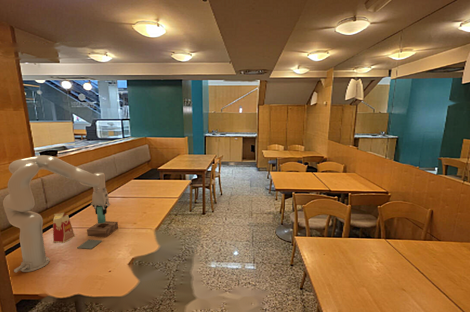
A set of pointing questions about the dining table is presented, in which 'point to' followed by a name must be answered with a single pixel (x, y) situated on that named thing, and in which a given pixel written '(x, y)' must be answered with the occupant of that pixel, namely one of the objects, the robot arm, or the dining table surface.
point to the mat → (89, 244)
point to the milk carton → (62, 228)
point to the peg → (100, 215)
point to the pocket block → (102, 229)
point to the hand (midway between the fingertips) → (101, 213)
